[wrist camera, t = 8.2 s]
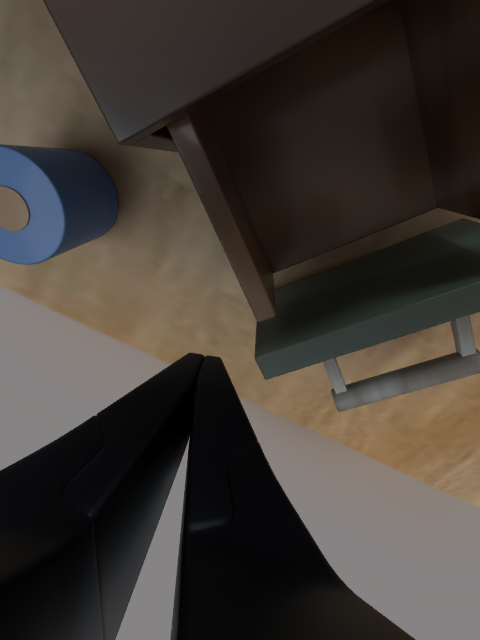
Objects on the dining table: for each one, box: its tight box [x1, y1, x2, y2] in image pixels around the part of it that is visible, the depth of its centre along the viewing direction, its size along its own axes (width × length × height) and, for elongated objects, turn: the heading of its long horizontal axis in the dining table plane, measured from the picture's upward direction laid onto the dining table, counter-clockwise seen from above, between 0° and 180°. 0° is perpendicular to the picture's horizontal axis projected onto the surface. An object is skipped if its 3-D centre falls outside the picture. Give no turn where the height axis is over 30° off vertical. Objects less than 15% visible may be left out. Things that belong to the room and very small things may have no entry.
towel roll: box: [0, 145, 118, 265], centre depth 16 cm, size 5×5×6 cm
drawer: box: [166, 0, 480, 412], centre depth 14 cm, size 17×11×7 cm, turn 24°
